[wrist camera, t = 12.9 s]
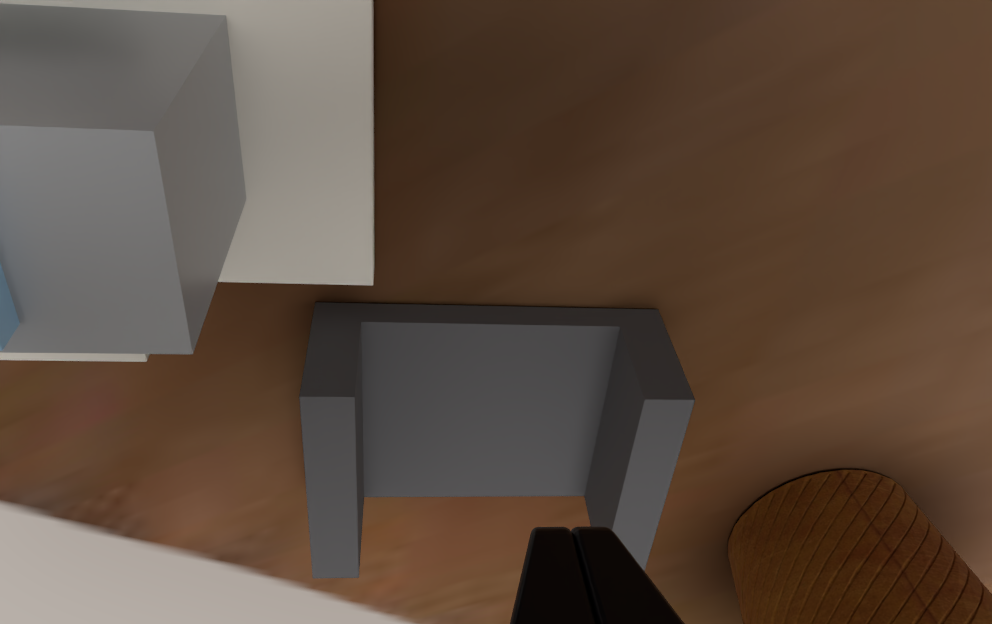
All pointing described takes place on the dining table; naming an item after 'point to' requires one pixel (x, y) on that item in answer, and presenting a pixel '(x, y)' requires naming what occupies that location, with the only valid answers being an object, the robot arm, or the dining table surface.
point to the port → (289, 140)
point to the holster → (488, 414)
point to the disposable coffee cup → (849, 558)
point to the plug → (114, 177)
